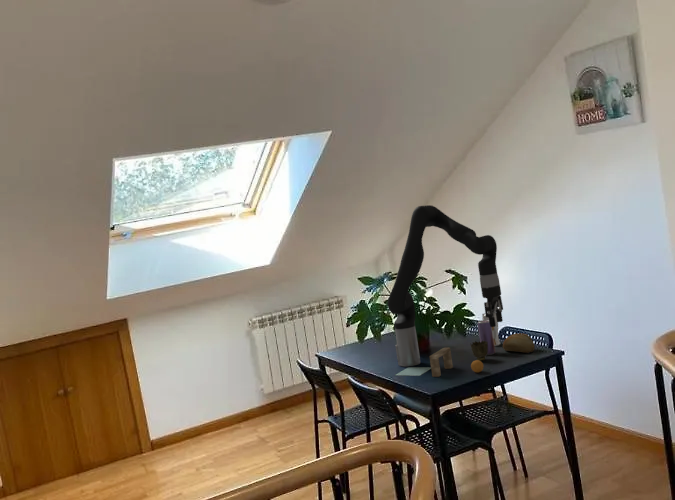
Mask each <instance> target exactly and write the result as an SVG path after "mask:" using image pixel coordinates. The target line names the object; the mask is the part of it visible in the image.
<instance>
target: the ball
mask: <svg viewBox="0 0 675 500" xmlns="http://www.w3.org/2000/svg"><path fill="white" fill-rule="evenodd" d="M470 368H471V370H472V372H475V373H481V372H482V371H483V370H484V363H483V361H479V360H477V359H476V360H473V361H472V362H471V364H470Z"/></svg>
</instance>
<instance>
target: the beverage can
mask: <svg viewBox="0 0 675 500" xmlns="http://www.w3.org/2000/svg"><path fill="white" fill-rule="evenodd" d="M477 331H478V336H479V341H480V343H481V341H485V342H488V353H487V355H486V356H492V355H495V354H496V346H494V339H493V332H492V327H490V323H489V320H483V319H482V320H478V321H477Z"/></svg>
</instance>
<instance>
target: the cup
mask: <svg viewBox="0 0 675 500" xmlns="http://www.w3.org/2000/svg"><path fill="white" fill-rule="evenodd" d="M469 345H470V348H471V353H472V354H473V356H474V357H475V358H476V360H479V361H481V362H483V361H485V360H486V356H488V355H487V353H488V342H485V341H481V343H480V340H478V341H476V340H475V341H474V342H472V343H470V344H469Z"/></svg>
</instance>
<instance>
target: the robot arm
mask: <svg viewBox="0 0 675 500" xmlns="http://www.w3.org/2000/svg"><path fill="white" fill-rule="evenodd" d="M409 224H410V225H409V230H408V235H407V240H406V243H405V246H404V249H403V252H402V256H401V258H400V259H401V261H400V263H399V264H400V265H399V268H398V270H397V275H396V278H395V281H394V284H393V287H392V289H391V292H390V294H389V296H388V300H387V308H388V310H389V311H390V313H391V314H394V315H397V317H396V319H395V320H394V322H393V325H394V326H393V327H394V331H395V339H396V340H395V341H396V344H395V350H396V357H397V364H398V366H399V367H405V368H408V367H415V366H417V365H420V364H421V357H420V350H419V343H418V335H417V330H416V323H415V322H416V310H415V309H416V308H415V307H416V306H415V301H414V298H413V295H412V294H411V293H410V292H409V289H410V288H411V285H412V284H413V282H414V281H415V280H416V278H417V276H418V275H419V273H420V271H421V268H422V265H423V262H424V258H425V252H424V246H423V236H424V233H425V230H426V228H427V227H428V228H430V227H434V228H438V229H441V230H442V231H445V233H446V234H447V235H448V236H449V237H450V238H451V239H453V240H455V241H456V242H459V243H460V244H462V245H464V246H465V247H466V248H468V250H470V252H471V253H473V254H475V255H479V256H481V255H482V258H481V259H480V260H479V261H478V262H477V266H478V272H479V273H478V274H479V283H480V289H481V296H482V298H484V299H486V302H484V303H483V307H484V313H485V314H486V317H488V318H489V323H490V327H495V326H496V323H495V317H494V315H495V313H496V318H497V322H498V323H502V322H503V315H502V312H503V310H504V305H503V301H502V300H503V299H502V296H501V295H502V290H501V284H500V278H499V275H498V269H497V264H496V261H497V251H498V249H497V248H498V247H497V241H496V239H495V238H494V237H493V236H492V235H489V234H486V235H481V236H477V233H476V231H475V230H473V229H471V228H470V227H469V226H466V225H464V224H462V223H460V222H458V221H456V220H454V219H453V218H451V217H449V215H447V214H446V213H444V212H442V210H441V209H439V208H438V207H436V206H434V205H418V206H417V207H415V208H414V209H413V211H412V214H411V219H410V223H409Z"/></svg>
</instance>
